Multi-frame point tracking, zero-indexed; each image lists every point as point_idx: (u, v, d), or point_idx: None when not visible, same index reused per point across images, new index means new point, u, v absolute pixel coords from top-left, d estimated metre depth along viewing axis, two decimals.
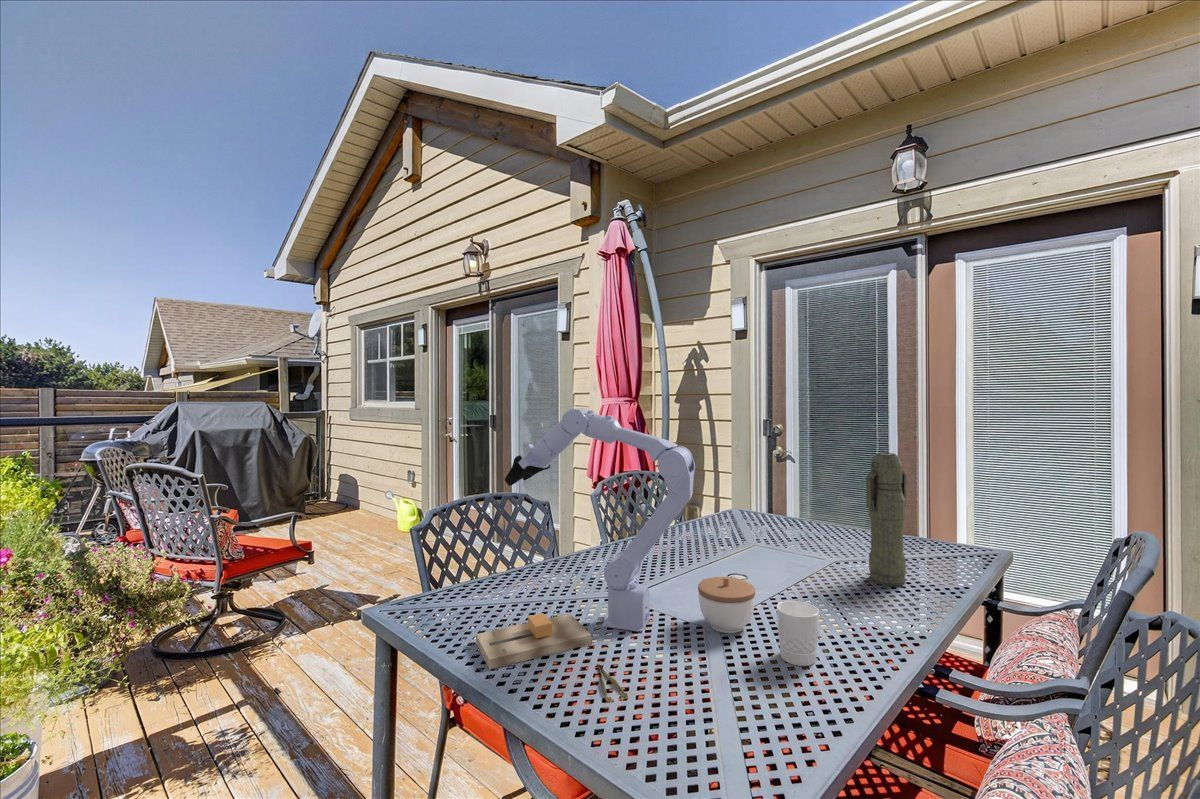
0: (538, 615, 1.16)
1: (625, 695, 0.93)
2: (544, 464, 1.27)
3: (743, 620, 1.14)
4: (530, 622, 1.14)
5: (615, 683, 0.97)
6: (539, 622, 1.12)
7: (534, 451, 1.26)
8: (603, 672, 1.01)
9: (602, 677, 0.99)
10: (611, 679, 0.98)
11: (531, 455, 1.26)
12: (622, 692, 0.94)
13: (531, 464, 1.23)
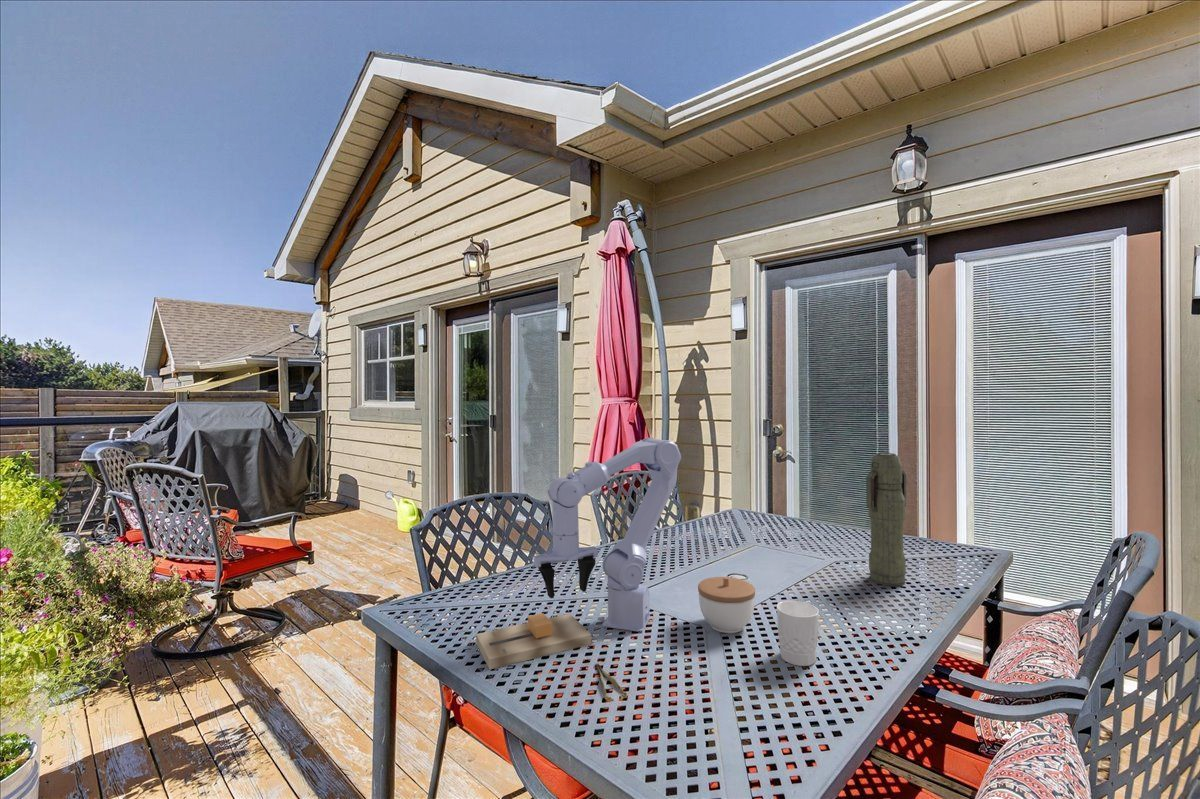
0: (538, 615, 1.16)
1: (624, 694, 0.94)
2: None
3: (743, 620, 1.14)
4: (530, 622, 1.14)
5: (614, 683, 0.97)
6: (539, 622, 1.12)
7: (578, 547, 1.16)
8: (602, 671, 1.01)
9: (601, 676, 0.99)
10: (610, 678, 0.98)
11: (579, 552, 1.17)
12: (621, 691, 0.95)
13: None
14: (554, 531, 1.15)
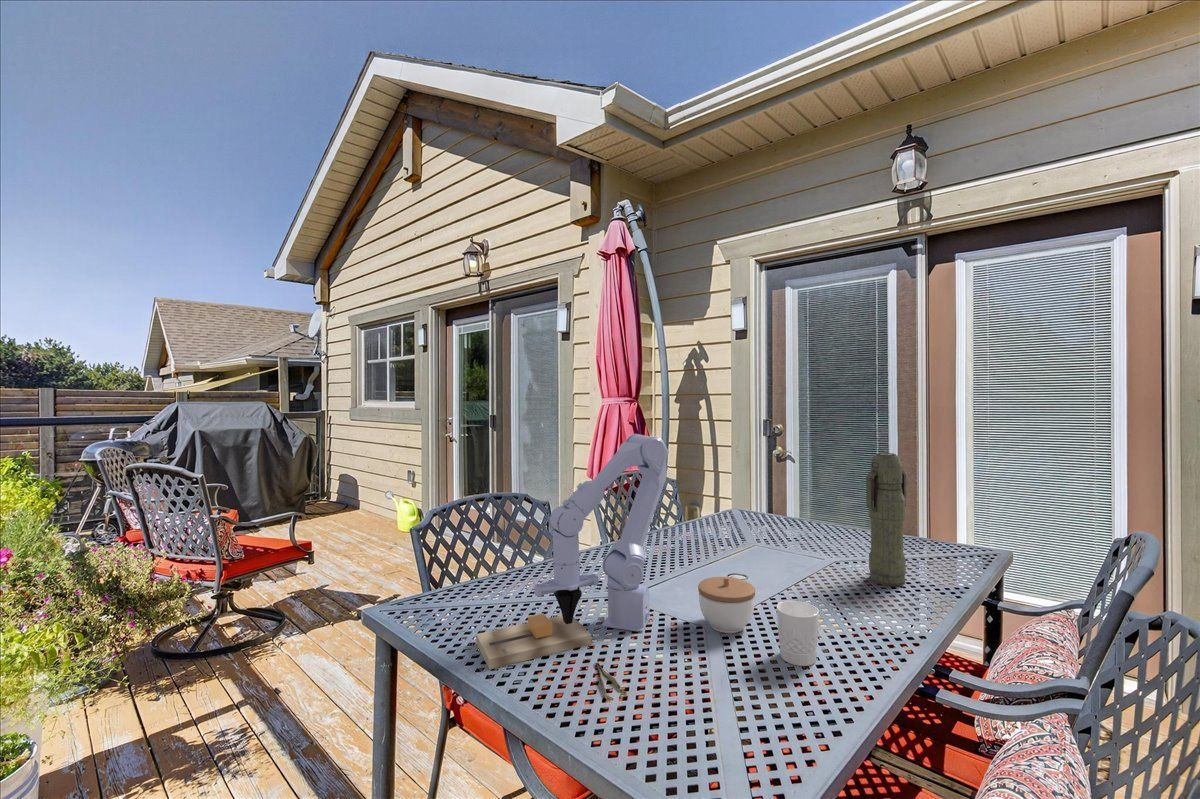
0: (538, 615, 1.16)
1: (624, 693, 0.94)
2: None
3: (743, 620, 1.14)
4: (530, 622, 1.14)
5: (614, 681, 0.97)
6: (539, 622, 1.12)
7: (579, 576, 1.16)
8: (602, 670, 1.02)
9: (601, 675, 0.99)
10: (610, 677, 0.99)
11: (580, 580, 1.17)
12: (621, 690, 0.95)
13: None
14: (555, 560, 1.15)
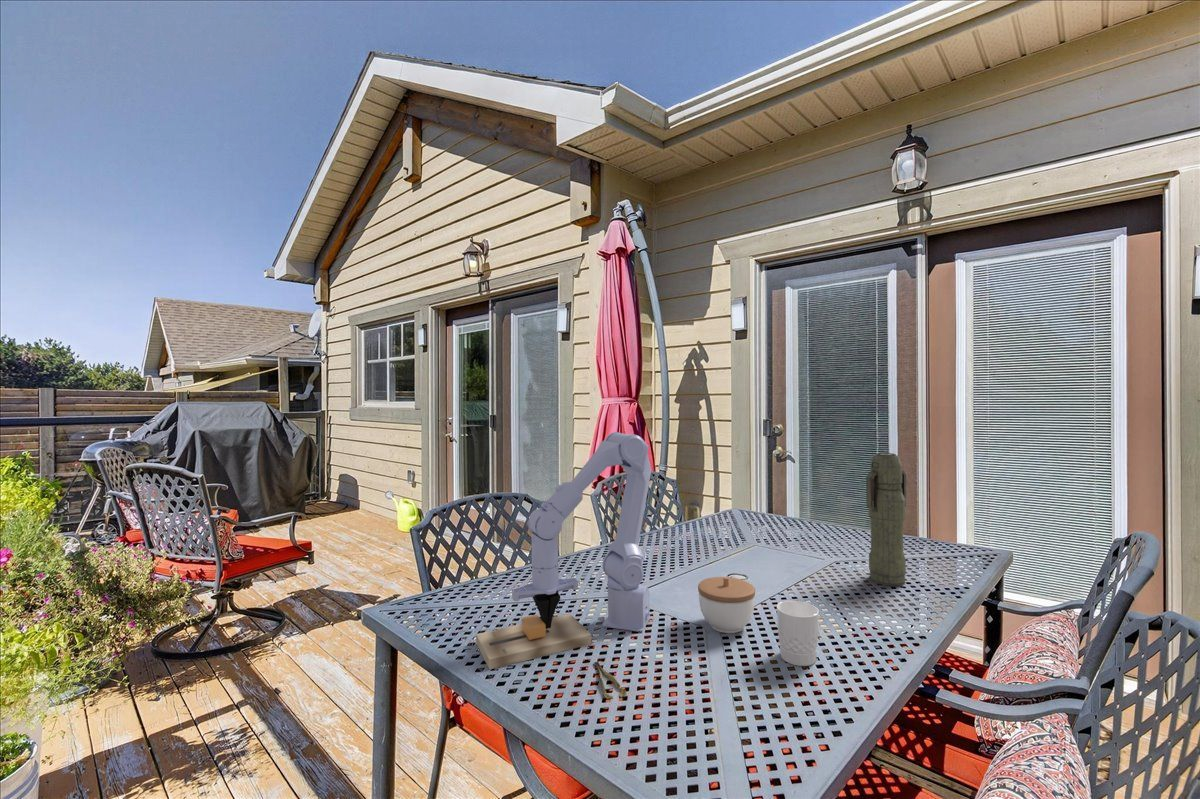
0: (532, 616, 1.15)
1: (624, 692, 0.94)
2: None
3: (743, 620, 1.14)
4: (523, 623, 1.13)
5: (613, 680, 0.98)
6: (533, 623, 1.12)
7: (558, 579, 1.14)
8: (601, 669, 1.02)
9: (600, 674, 1.00)
10: (609, 676, 0.99)
11: (559, 584, 1.15)
12: (621, 689, 0.95)
13: None
14: (533, 564, 1.13)
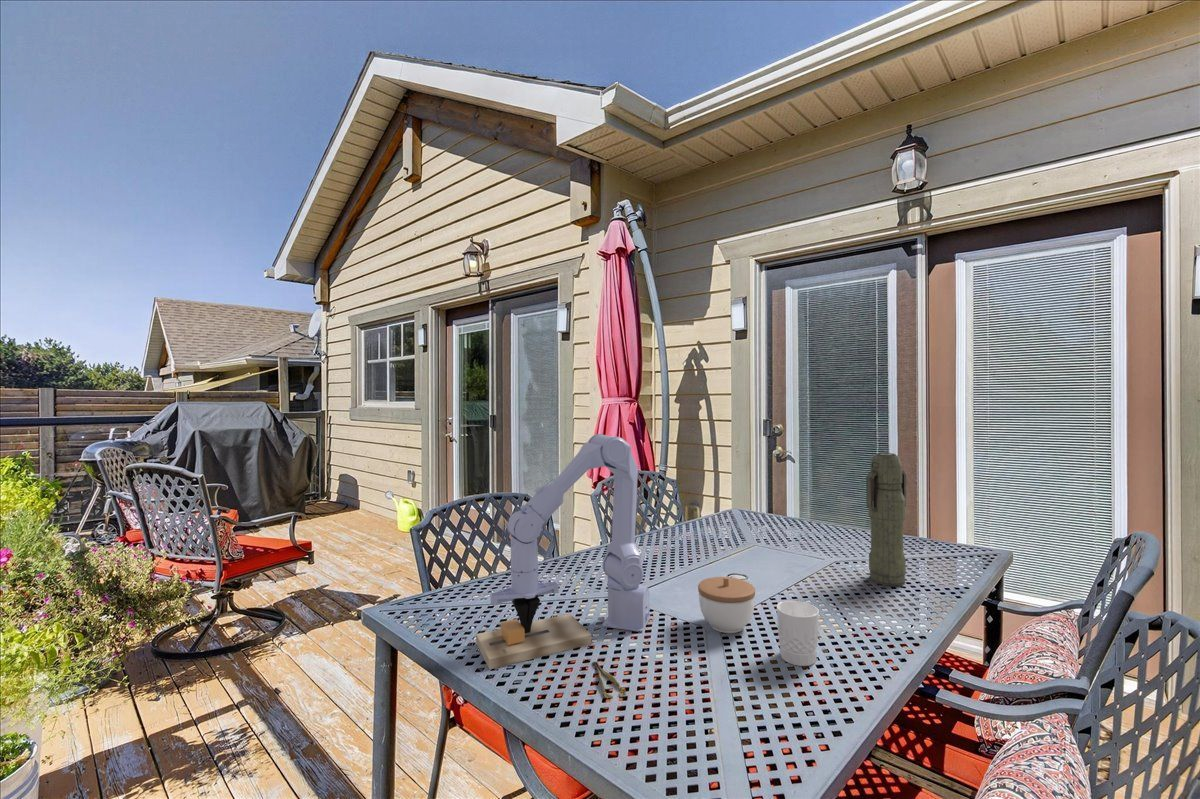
0: (511, 621, 1.13)
1: (623, 691, 0.94)
2: None
3: (743, 620, 1.14)
4: (502, 628, 1.11)
5: (613, 680, 0.98)
6: (512, 628, 1.10)
7: (538, 583, 1.12)
8: (600, 669, 1.02)
9: (599, 674, 1.00)
10: (608, 676, 0.99)
11: (539, 588, 1.13)
12: (620, 688, 0.95)
13: None
14: (512, 567, 1.11)
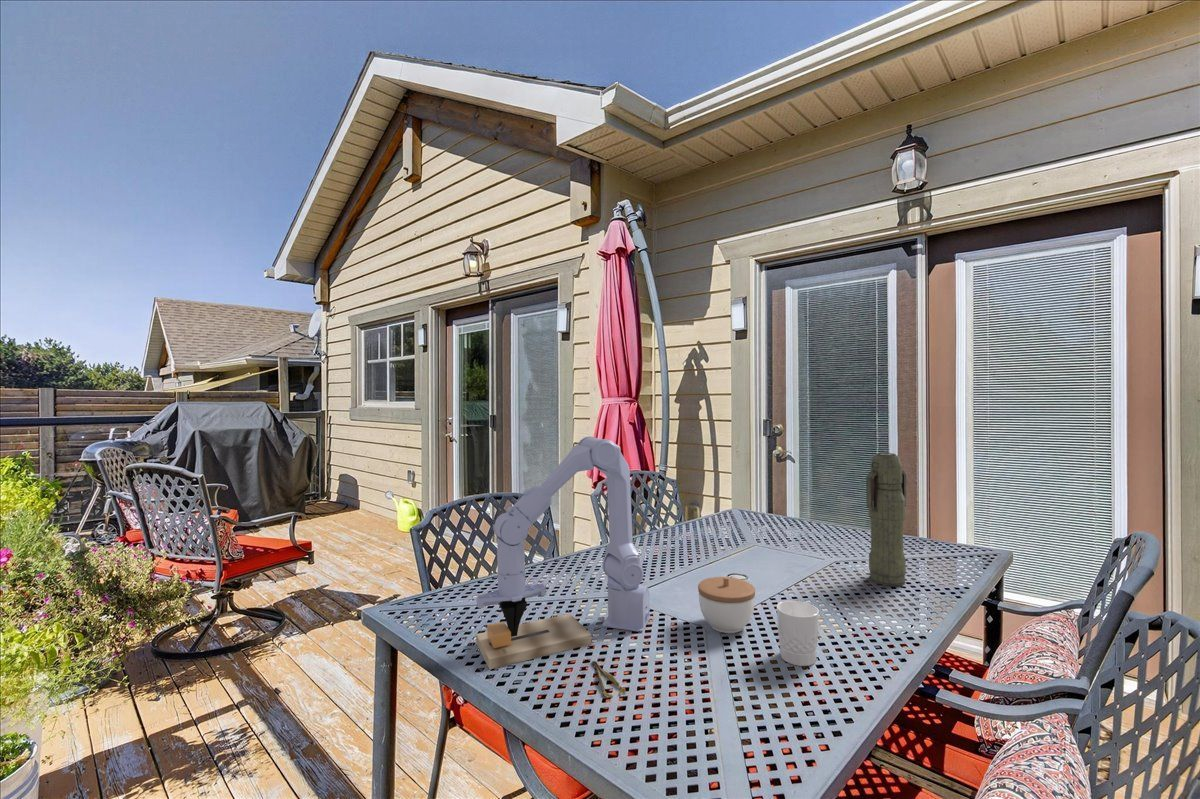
0: (498, 624, 1.12)
1: (623, 690, 0.95)
2: None
3: (743, 620, 1.14)
4: (489, 631, 1.10)
5: (612, 679, 0.98)
6: (498, 631, 1.09)
7: (525, 586, 1.11)
8: (599, 668, 1.02)
9: (599, 673, 1.00)
10: (608, 675, 0.99)
11: (526, 591, 1.11)
12: (620, 687, 0.96)
13: None
14: (498, 570, 1.09)
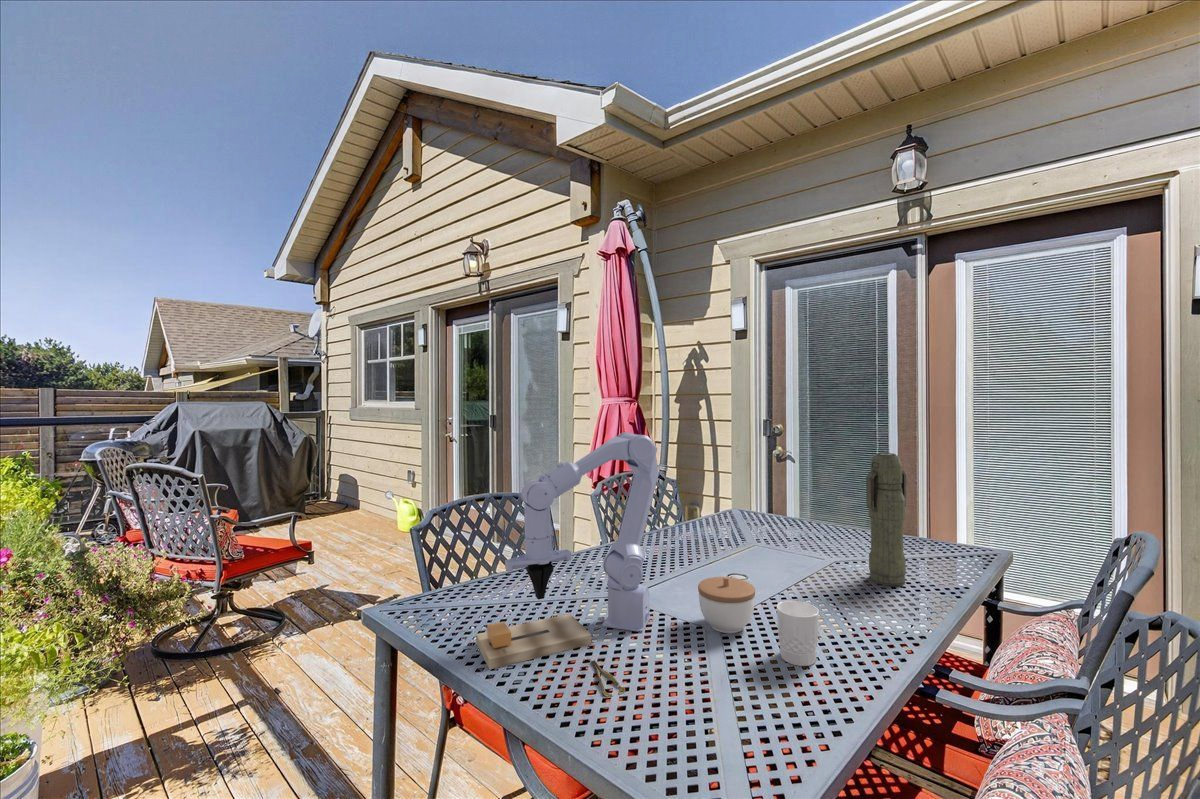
0: (498, 624, 1.12)
1: (622, 689, 0.95)
2: None
3: (743, 620, 1.14)
4: (489, 631, 1.10)
5: (612, 678, 0.98)
6: (498, 631, 1.09)
7: (551, 550, 1.15)
8: (598, 668, 1.02)
9: (598, 673, 1.00)
10: (607, 674, 1.00)
11: (552, 555, 1.15)
12: (619, 687, 0.96)
13: None
14: (525, 534, 1.13)
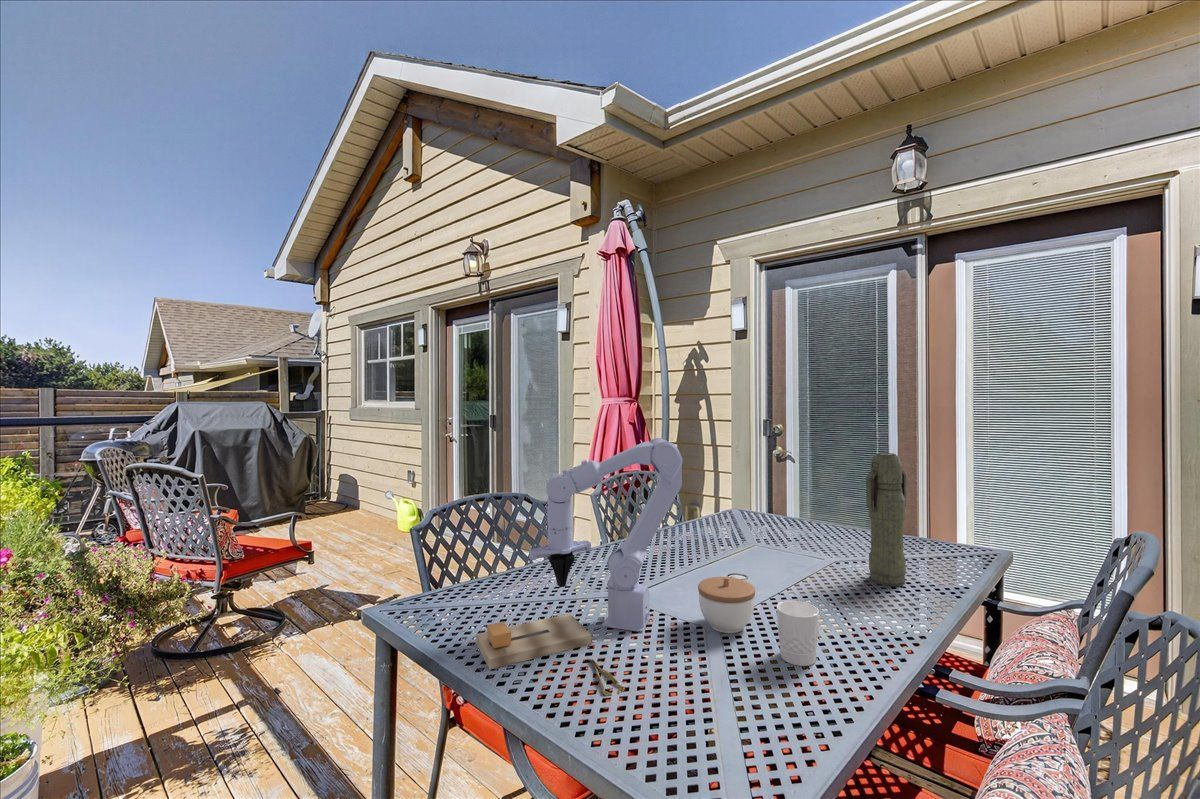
0: (498, 624, 1.12)
1: (622, 688, 0.95)
2: None
3: (743, 620, 1.14)
4: (489, 631, 1.10)
5: (610, 677, 0.99)
6: (498, 631, 1.09)
7: (572, 541, 1.21)
8: (597, 667, 1.03)
9: (597, 672, 1.00)
10: (606, 673, 1.00)
11: (573, 546, 1.21)
12: (618, 685, 0.96)
13: None
14: None
